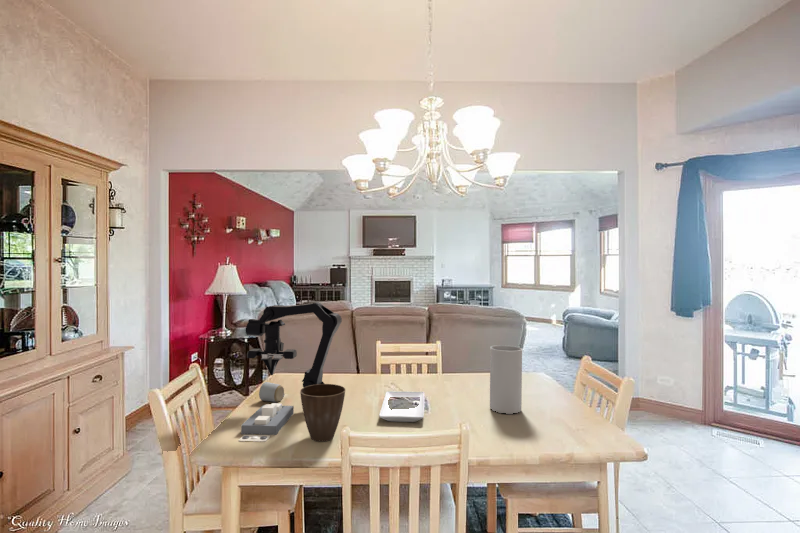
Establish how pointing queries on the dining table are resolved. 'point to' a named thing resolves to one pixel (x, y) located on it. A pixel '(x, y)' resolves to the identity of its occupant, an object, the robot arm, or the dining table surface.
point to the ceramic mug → (271, 392)
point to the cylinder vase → (505, 379)
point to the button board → (272, 426)
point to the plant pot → (322, 409)
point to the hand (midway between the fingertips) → (271, 374)
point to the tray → (402, 414)
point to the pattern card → (255, 438)
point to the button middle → (269, 410)
